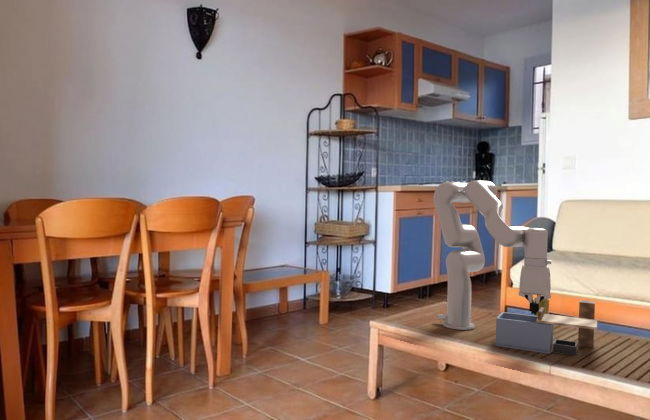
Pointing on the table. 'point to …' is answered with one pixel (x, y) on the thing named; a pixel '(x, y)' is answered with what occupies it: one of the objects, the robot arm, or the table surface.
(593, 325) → the lid
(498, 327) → the toolbox
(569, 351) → the socket
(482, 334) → the table surface
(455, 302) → the robot arm
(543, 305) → the vase
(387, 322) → the table surface
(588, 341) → the brown wooden block
